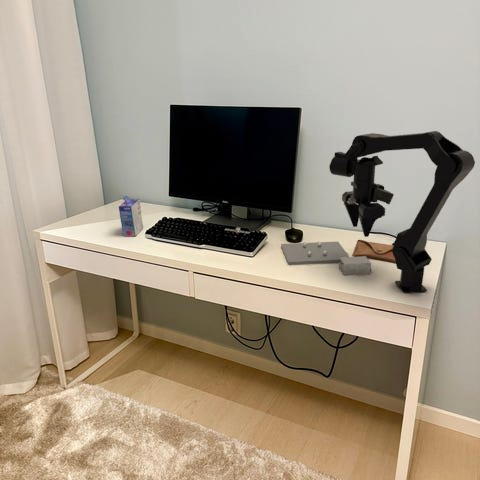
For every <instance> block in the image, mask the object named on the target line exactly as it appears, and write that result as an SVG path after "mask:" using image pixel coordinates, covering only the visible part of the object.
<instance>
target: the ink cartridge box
mask: <svg viewBox="0 0 480 480" xmlns="http://www.w3.org/2000/svg"><path fill="white" fill-rule="evenodd" d="M122 199H123V200H124V201H123V202H122V203H120V204H119V206H118V210H119V217H120V219H119V220H120V225H121V231H122V236H123V237H136V236H138V234H139V233H140V232H141V231H142V230H143V229H144V224H143V223H144V222H143V215H142V207H141V202H140V201H141V200H140V199H139V198H136V199H135V198H133V199H132V198H129V197H128V195H127V194H126V195H125V196H123V198H122Z"/></svg>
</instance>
